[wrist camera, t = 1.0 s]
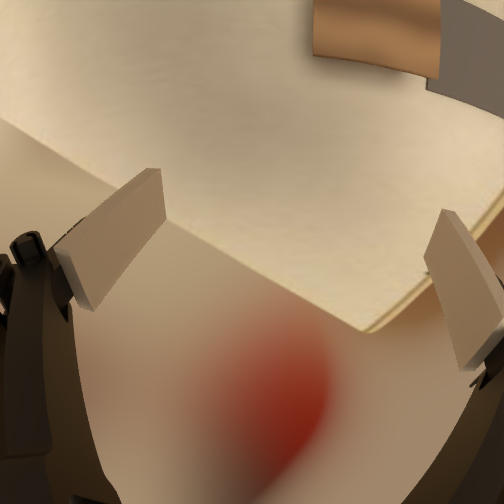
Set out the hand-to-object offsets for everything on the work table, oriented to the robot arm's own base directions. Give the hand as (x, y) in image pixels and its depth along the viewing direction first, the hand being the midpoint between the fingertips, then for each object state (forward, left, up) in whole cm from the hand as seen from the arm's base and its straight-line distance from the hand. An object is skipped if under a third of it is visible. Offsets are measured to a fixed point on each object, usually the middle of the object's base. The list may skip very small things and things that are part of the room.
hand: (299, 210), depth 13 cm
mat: (-14, +20, -23) cm, 34 cm away
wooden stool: (-14, +5, -23) cm, 27 cm away
